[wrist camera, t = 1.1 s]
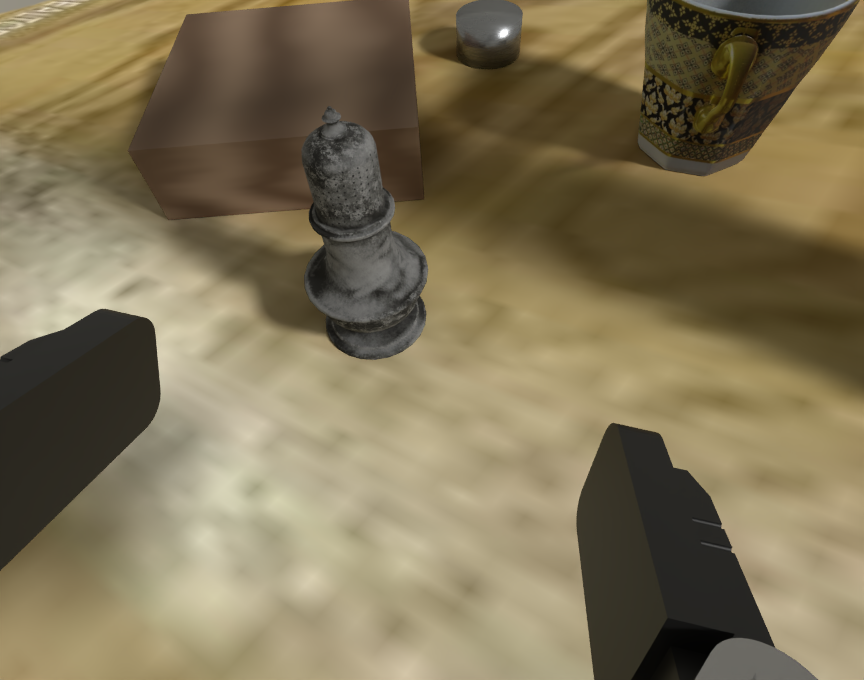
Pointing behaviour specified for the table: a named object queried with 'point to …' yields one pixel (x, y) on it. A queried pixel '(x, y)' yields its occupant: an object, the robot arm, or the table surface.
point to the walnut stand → (277, 104)
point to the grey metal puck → (488, 33)
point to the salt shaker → (359, 246)
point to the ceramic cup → (725, 73)
